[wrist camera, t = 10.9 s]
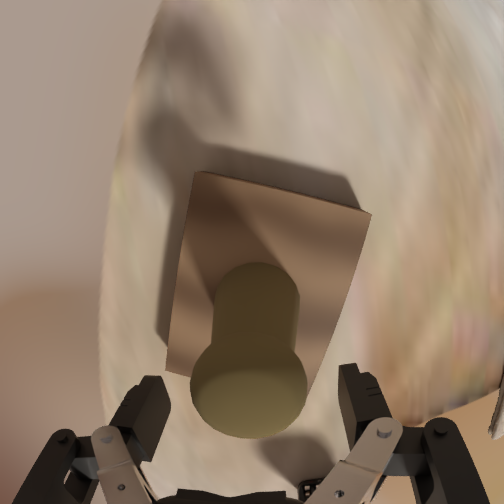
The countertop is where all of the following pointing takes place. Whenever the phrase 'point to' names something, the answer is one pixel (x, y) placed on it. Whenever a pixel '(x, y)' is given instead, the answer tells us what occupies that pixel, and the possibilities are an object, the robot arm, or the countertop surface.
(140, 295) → the countertop surface
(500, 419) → the washcloth
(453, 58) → the countertop surface
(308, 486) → the battery charger
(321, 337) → the walnut board
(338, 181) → the countertop surface
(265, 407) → the cork
